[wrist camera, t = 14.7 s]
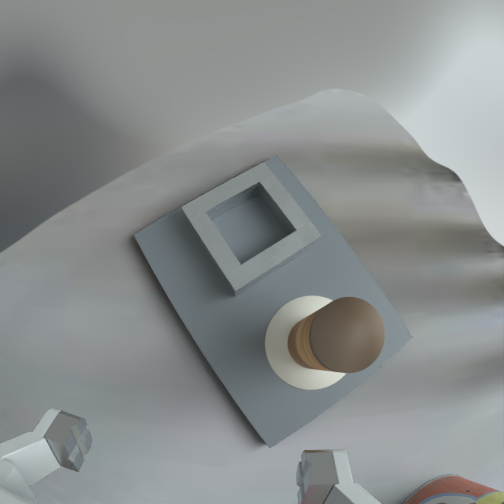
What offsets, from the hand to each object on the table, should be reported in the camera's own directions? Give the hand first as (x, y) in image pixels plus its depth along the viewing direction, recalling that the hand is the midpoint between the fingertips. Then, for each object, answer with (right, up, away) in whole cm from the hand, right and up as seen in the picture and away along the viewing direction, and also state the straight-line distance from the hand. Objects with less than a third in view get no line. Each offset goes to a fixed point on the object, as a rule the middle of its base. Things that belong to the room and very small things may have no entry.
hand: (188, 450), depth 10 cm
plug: (+7, 0, +16) cm, 18 cm away
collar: (+2, +9, +19) cm, 21 cm away
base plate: (+4, +4, +19) cm, 19 cm away
